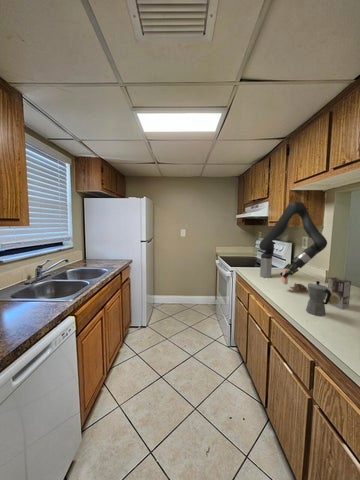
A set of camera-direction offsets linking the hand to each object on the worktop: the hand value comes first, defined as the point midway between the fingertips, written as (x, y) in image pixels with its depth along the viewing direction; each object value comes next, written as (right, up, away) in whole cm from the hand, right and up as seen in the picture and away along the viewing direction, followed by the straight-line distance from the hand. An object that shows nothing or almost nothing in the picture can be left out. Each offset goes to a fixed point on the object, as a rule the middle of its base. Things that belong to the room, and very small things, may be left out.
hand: (282, 276), depth 145 cm
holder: (+15, -11, +3) cm, 19 cm away
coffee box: (+23, -14, -22) cm, 34 cm away
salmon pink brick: (+2, -5, 0) cm, 5 cm away
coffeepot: (+3, -15, -32) cm, 36 cm away
